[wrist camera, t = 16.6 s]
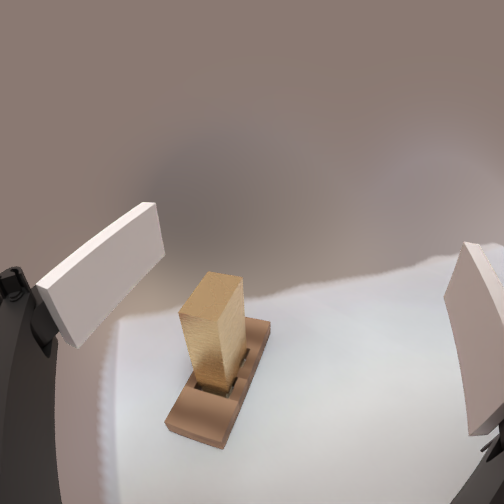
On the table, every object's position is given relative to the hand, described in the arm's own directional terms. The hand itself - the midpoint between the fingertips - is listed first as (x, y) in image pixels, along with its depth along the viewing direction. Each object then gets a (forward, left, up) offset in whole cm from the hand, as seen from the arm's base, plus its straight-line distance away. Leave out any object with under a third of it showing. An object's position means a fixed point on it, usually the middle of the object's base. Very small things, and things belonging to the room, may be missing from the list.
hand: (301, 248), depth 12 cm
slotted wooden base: (-3, -14, -28) cm, 32 cm away
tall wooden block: (-3, -14, -28) cm, 32 cm away
